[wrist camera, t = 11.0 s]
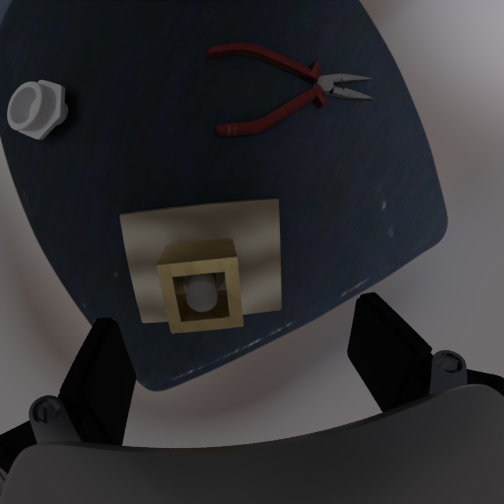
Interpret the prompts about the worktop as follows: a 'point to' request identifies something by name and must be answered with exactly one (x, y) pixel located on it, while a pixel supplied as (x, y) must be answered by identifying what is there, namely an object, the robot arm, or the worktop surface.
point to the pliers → (308, 74)
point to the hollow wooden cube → (200, 262)
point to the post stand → (204, 229)
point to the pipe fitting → (37, 108)
